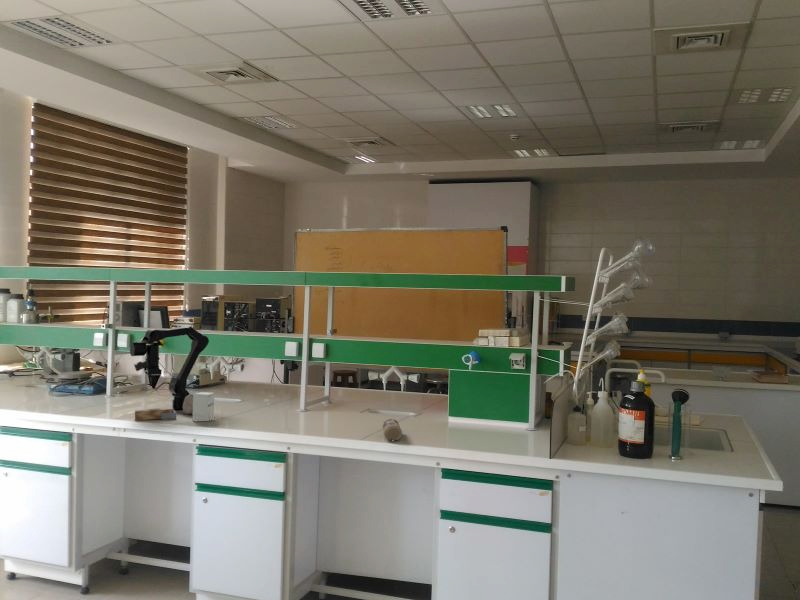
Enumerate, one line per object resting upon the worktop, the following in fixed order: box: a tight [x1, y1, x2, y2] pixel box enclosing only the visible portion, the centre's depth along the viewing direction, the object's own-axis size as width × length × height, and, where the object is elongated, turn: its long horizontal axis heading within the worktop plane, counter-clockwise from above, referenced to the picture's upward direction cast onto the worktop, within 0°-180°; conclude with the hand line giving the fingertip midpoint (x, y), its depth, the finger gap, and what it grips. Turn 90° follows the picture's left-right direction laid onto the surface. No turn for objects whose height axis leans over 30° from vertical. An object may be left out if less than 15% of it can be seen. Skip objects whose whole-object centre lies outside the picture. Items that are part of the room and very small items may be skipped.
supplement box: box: [192, 391, 215, 422], centre depth 337 cm, size 7×7×13 cm
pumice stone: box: [182, 393, 193, 415], centre depth 353 cm, size 15×8×10 cm, turn 70°
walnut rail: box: [134, 407, 173, 421], centre depth 338 cm, size 16×4×4 cm, turn 110°
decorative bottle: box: [382, 418, 403, 441], centre depth 313 cm, size 26×8×7 cm, turn 4°
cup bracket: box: [160, 409, 177, 421], centre depth 341 cm, size 7×7×3 cm
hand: (152, 387), depth 356 cm, fingers open, 9 cm apart
